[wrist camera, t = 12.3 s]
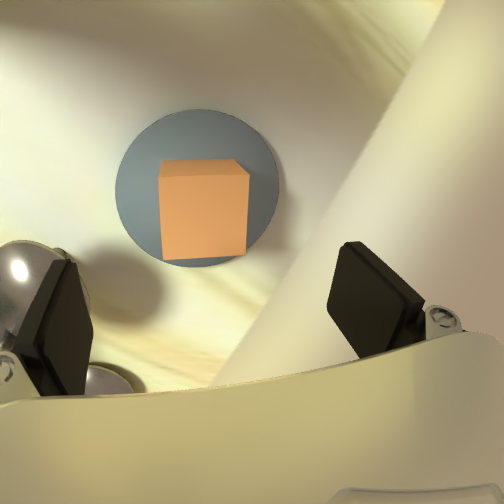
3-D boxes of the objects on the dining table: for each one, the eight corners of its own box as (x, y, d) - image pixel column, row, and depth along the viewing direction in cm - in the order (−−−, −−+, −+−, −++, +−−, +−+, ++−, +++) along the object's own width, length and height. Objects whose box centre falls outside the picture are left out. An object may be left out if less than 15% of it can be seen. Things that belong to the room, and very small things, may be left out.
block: (161, 160, 20) (158, 177, 16) (233, 159, 21) (249, 174, 17) (164, 227, 22) (163, 260, 18) (230, 224, 24) (245, 255, 19)
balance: (-38, 218, 18) (-110, 285, 8) (97, 203, 21) (48, 284, 12) (38, 401, 29) (24, 475, 19) (140, 404, 32) (144, 488, 23)
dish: (115, 112, 19) (112, 113, 18) (280, 113, 22) (285, 113, 21) (125, 263, 24) (123, 271, 23) (267, 256, 27) (271, 263, 26)
